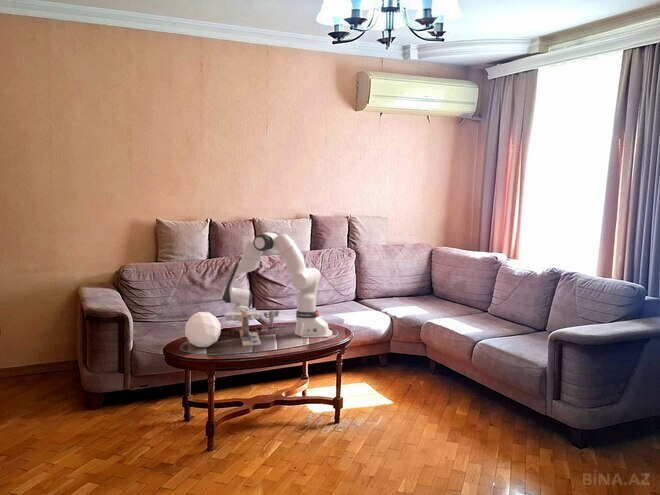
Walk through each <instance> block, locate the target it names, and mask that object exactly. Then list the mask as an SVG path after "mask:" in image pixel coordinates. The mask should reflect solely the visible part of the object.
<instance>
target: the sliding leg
mask: <svg viewBox="0 0 660 495" xmlns="http://www.w3.org/2000/svg"><path fill="white" fill-rule="evenodd" d="M244 316H247V312H242V321H241V329H239V337H240V336H241V335H243V317H244Z"/></svg>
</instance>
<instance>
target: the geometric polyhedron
mask: <svg viewBox="0 0 660 495" xmlns="http://www.w3.org/2000/svg"><path fill="white" fill-rule="evenodd" d="M221 328H222V324H221V323H220V320H219V319H218V318H217V317H216V316H215V315H213V314H212V313H211V312H209V311H207V312H205V311H198V312H196V313H194V314H193V315H191V316H190V317H189V318H188V320H187V321H186V324H185V328H184V330H185V331H184V335H185V337H186V338H187V340H188V342H189V343H190V344H192V345H194V346H195V347H196V348H209V347H210V346H212V345H213V344H215V343H216V342H217V341H218V340H219V338H220V336H221Z"/></svg>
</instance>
